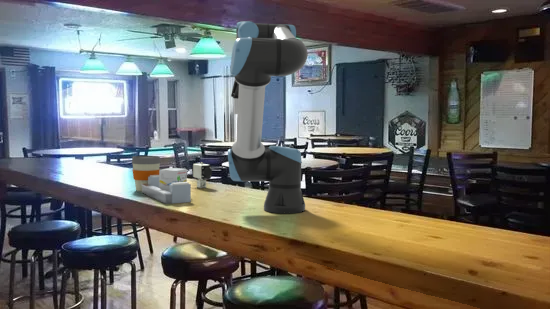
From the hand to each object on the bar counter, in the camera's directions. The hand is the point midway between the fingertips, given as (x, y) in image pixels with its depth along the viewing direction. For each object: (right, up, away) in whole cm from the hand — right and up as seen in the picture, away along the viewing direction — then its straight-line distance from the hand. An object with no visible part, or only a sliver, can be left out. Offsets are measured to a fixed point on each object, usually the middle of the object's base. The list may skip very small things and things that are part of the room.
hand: (244, 114), depth 206 cm
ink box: (-30, -34, +6) cm, 46 cm away
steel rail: (-37, -34, +2) cm, 50 cm away
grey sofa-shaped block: (-32, -34, +5) cm, 47 cm away
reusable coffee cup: (-46, -33, +23) cm, 61 cm away
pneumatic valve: (-22, -32, +34) cm, 52 cm away
